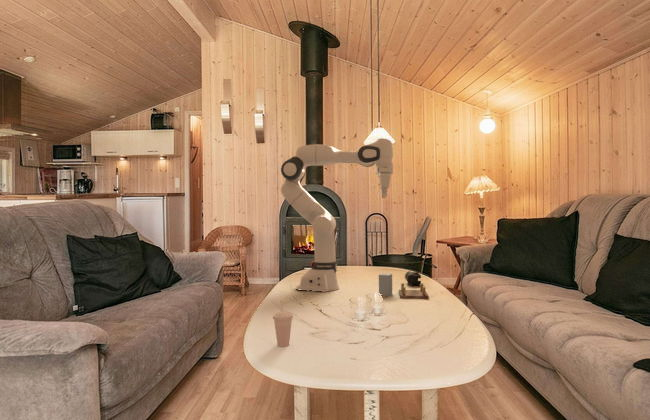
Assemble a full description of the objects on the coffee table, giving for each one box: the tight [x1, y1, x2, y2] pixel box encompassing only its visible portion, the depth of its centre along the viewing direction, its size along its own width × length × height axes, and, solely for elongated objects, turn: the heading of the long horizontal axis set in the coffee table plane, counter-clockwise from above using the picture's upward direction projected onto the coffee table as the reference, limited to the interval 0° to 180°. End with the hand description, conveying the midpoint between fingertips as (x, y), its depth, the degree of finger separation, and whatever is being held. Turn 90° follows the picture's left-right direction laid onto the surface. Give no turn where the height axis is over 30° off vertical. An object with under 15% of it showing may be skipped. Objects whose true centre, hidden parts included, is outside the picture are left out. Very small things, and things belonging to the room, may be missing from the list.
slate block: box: [378, 272, 393, 297], centre depth 204 cm, size 5×5×10 cm
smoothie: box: [272, 300, 294, 348], centre depth 135 cm, size 6×6×14 cm
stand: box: [398, 282, 430, 300], centre depth 202 cm, size 13×13×5 cm
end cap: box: [404, 270, 422, 288], centre depth 227 cm, size 10×7×7 cm
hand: (384, 197), depth 216 cm, fingers open, 8 cm apart
